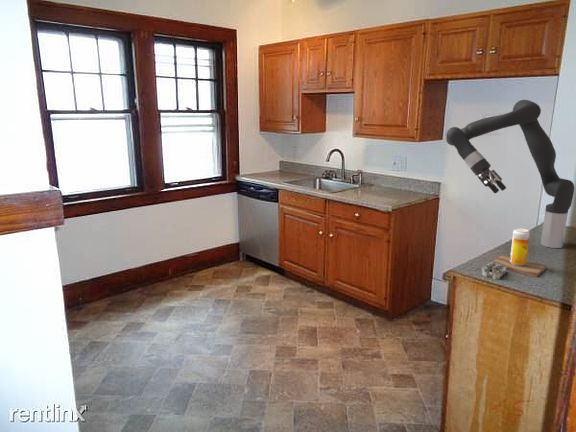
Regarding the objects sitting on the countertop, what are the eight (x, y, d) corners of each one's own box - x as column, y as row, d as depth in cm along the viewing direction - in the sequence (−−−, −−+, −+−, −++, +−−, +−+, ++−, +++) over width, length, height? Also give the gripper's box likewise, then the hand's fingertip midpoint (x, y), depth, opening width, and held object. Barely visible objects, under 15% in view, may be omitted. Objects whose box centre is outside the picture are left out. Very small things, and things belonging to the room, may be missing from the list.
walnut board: (501, 258, 186) (501, 255, 186) (546, 268, 174) (546, 265, 173) (490, 265, 178) (490, 262, 177) (536, 277, 165) (536, 273, 165)
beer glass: (527, 266, 172) (532, 232, 168) (511, 265, 173) (515, 232, 169) (523, 261, 178) (527, 228, 174) (507, 260, 179) (511, 227, 175)
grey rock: (497, 280, 163) (498, 271, 162) (478, 275, 169) (479, 266, 167) (508, 273, 170) (509, 264, 169) (489, 268, 175) (490, 259, 174)
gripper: (477, 159, 180) (501, 187, 175) (489, 156, 189) (513, 183, 184) (464, 170, 185) (487, 198, 180) (477, 166, 194) (500, 193, 189)
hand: (500, 190), depth 182 cm, fingers open, 8 cm apart
